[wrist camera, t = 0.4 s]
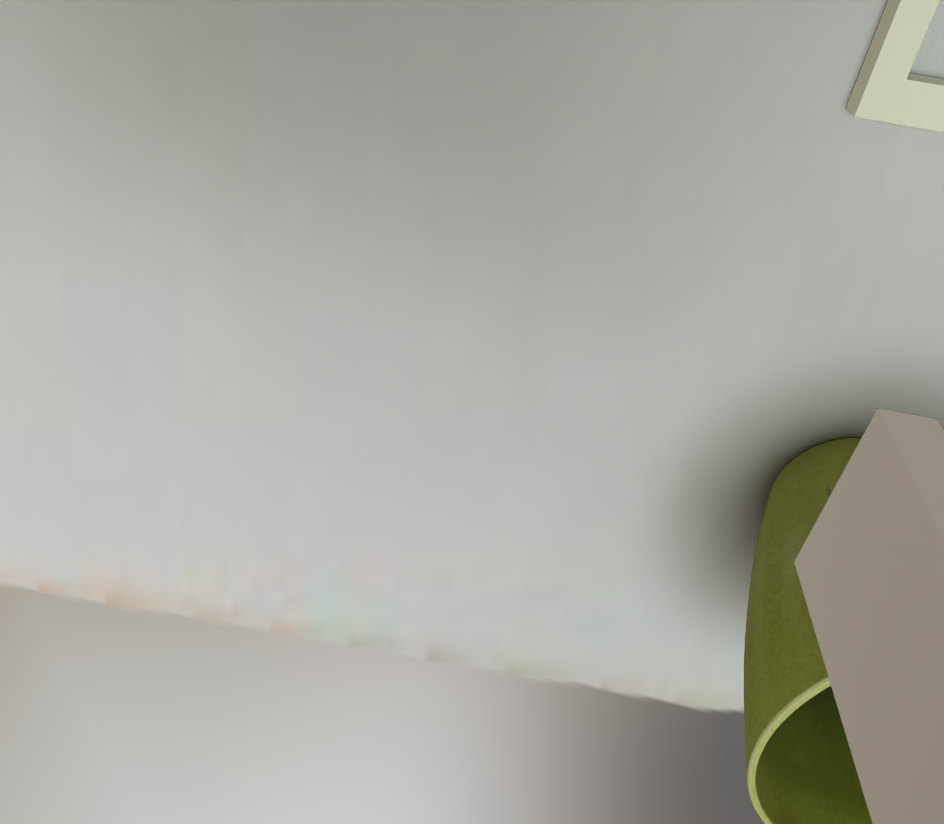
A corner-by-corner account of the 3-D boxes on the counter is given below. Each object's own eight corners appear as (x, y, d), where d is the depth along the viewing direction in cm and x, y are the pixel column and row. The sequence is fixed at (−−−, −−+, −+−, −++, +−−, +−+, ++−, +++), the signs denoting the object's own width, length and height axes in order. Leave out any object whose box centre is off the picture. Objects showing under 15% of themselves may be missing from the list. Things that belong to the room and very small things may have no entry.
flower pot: (795, 324, 40) (908, 585, 27) (1073, 429, 42) (1304, 719, 29) (647, 543, 48) (677, 821, 35) (883, 621, 50) (995, 912, 37)
